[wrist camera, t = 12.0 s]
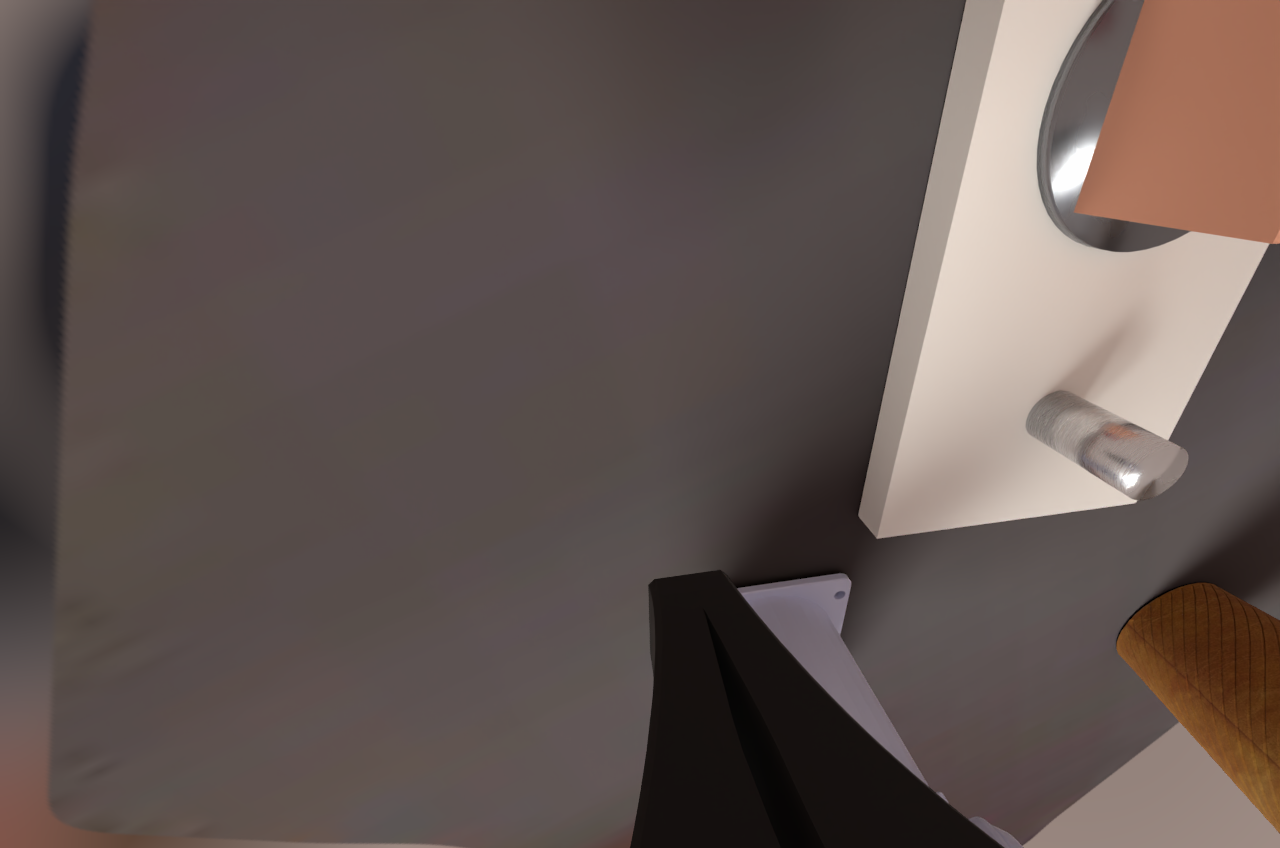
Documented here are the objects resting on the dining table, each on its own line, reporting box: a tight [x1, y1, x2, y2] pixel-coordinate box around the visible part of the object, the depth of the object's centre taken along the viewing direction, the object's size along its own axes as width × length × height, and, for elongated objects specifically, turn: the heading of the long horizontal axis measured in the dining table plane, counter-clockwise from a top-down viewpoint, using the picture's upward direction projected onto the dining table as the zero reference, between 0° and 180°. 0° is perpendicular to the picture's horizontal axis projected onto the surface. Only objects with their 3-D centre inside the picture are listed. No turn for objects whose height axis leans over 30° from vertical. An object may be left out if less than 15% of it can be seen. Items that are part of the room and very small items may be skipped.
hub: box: [1037, 0, 1191, 252], centre depth 14 cm, size 8×8×4 cm
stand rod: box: [1026, 390, 1188, 500], centre depth 18 cm, size 2×2×4 cm
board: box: [858, 0, 1269, 539], centre depth 18 cm, size 20×12×2 cm, turn 2°
